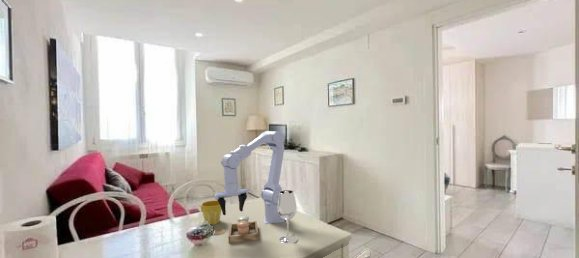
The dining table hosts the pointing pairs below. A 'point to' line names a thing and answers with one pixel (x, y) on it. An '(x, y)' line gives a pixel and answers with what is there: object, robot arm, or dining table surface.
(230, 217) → the dining table surface
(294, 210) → the wineglass
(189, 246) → the dining table surface
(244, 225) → the terracotta pot
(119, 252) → the dining table surface
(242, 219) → the sage pot
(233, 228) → the wooden tray
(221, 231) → the cork mat
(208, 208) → the plant pot
